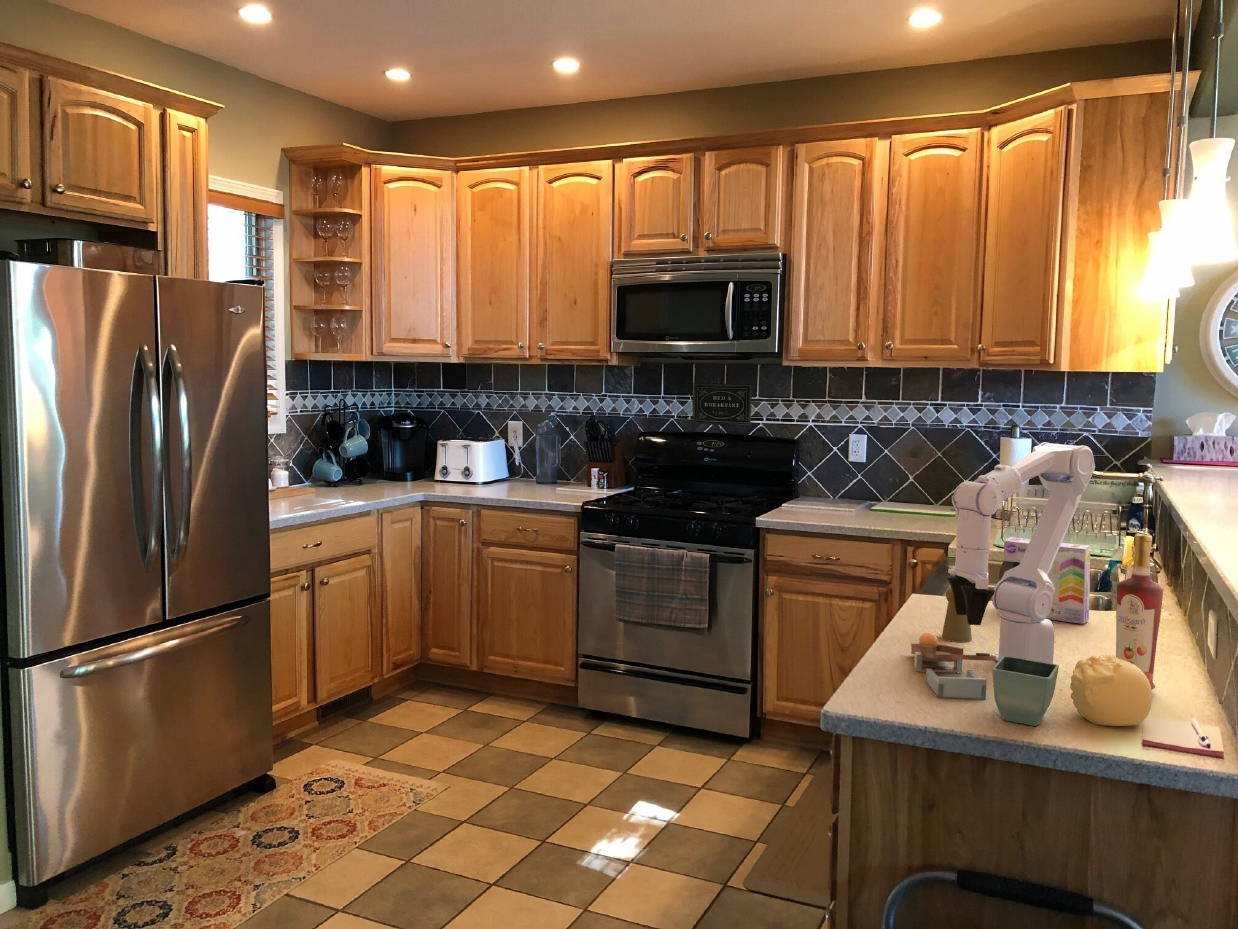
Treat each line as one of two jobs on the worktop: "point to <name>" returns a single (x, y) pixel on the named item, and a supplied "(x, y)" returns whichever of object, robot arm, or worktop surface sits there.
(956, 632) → the olive green pepper shaker
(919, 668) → the fulcrum
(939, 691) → the dish
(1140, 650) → the liquor
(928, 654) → the lever
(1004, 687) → the flower pot
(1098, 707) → the sculpture
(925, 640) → the ball
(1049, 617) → the cake pan box
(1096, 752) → the worktop surface
